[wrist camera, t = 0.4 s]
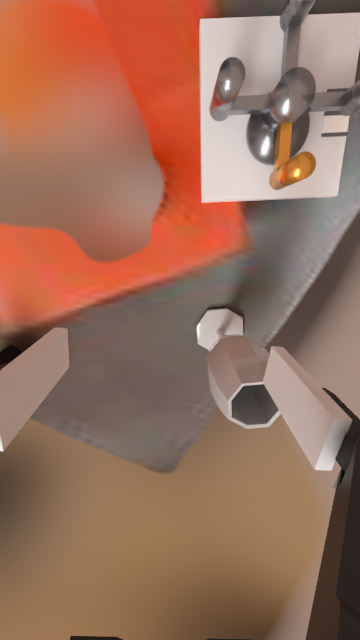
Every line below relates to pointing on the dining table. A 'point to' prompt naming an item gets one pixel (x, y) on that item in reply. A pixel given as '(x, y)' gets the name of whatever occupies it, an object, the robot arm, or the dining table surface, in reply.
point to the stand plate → (260, 79)
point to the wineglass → (236, 370)
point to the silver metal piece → (281, 105)
